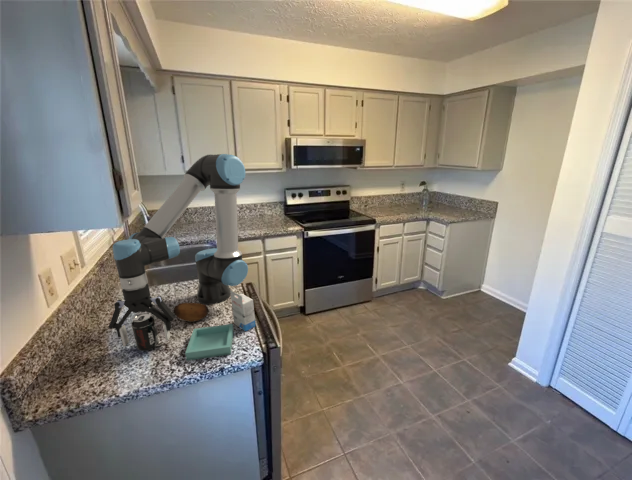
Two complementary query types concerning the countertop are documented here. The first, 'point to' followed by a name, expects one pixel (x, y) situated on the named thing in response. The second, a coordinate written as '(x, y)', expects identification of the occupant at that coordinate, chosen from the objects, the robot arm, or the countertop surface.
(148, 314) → the beverage can
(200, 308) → the potato
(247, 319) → the ink box
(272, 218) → the countertop surface
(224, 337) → the collection tray
